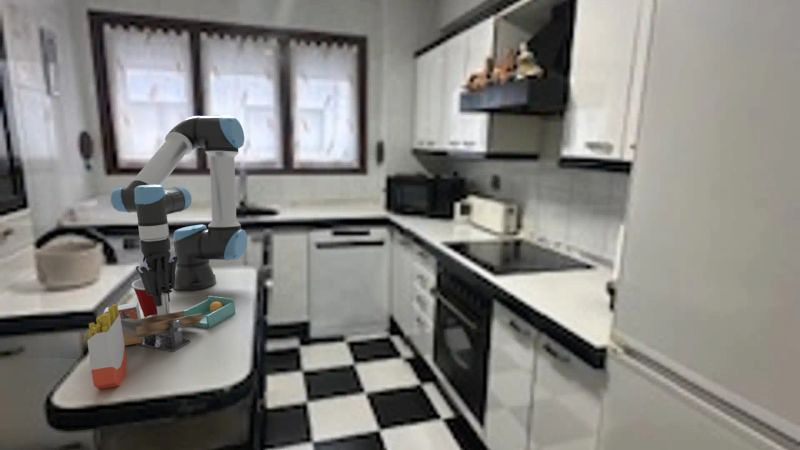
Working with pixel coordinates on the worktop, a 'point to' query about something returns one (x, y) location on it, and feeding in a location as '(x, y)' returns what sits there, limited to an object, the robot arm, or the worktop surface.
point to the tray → (212, 317)
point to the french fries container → (107, 349)
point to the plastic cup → (144, 299)
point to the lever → (156, 324)
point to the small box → (131, 313)
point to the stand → (166, 339)
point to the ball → (215, 306)
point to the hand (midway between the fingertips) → (163, 314)
